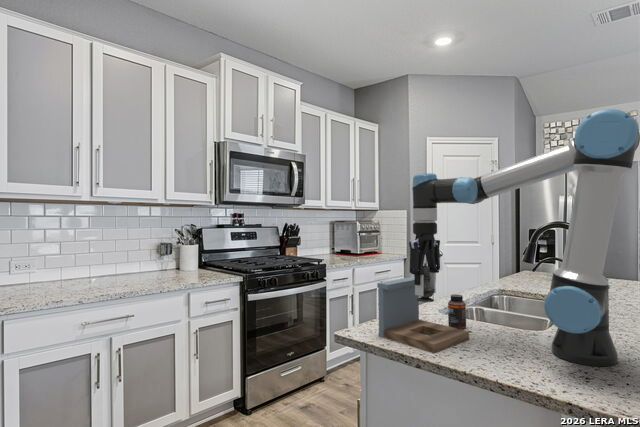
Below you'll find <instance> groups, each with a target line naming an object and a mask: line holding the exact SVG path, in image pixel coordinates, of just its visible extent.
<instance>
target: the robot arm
mask: <svg viewBox="0 0 640 427" xmlns="http://www.w3.org/2000/svg"><path fill="white" fill-rule="evenodd" d="M639 145H640V129H639V124H638V122H637V121H636V119H635V118H634V117H633V115H631V114H629V113H627V112H625V111H623V110H621V109H615V108H605V109H604V108H603V109H600V110H597V111H594V112H592V113H590V114H589V115H587V116H585V117H584V118H583V119H582V120H581V121H580V122H579V123H578V126H577V127H576V130H575V133H574V138H571V140H570V141H569V143H568V144H566V145H563V146H559V147H557V148H554V149H552V150H548V151H545V152H542V153H541V154H538V155H536V156H532V157H530V158H527V159H523V160H521V161H518V162H516V163H513V164H511V165H508V166H505V167H502V168H499V169H497V170H494V171H491V172H489V173H486V174H484V175H483V174H482V175H480V176H478V177H475V178H473V177H463V176H461V177H453V178H452V177H451V178H438V175H437V174H436V173H431V172H428V173H416V174H415V175H413V178H412V187H411V188H412V221H413V223H412V233H413V234H414V235H415V239H414V240H413V241H409V242H408V245H409V273H410V274H411V275H414V276H413V277H414V281H415V282H414V284H415V295H419V297H420V296H424V281H423V275H421V274H422V269H423V266H424V264H425V263H424V262H425V259H426V265H427V266H428V267H429V268H430V277H431V278H430V285H431V287H432V288H433V289H435V291H434V293H433V294H436V286H437V285H436V283H437V282H436V281H437V278H436V277H437V273H439V272H440V270H441V259H440V258H441V256H440V244H441V241H440V239H436V238H435V235H437V234H438V224H437V222H436V221H438V204H469V205H475V204H479V203H482V202H483V201H485V200H487V199H490V198H492V197H496V196H499V195H502V194H505V193H508V192H512V191H515V190H517V189H521V188H523V187H526V186H530V185H533V184H536V183H540V182H543V181H545V180H549V179H553V178H555V177H559V176H561V175H564V174H567V173H571V172H574V171H576V172H577V173H578V175H577V182H576V186H575V192H574V197H573V201H572V202H573V203H572V206H571V207H572V208H571V212H570V213H571V214H570V219H569V224H568V229H567V235H566V241H565V245H564V251H563V252H564V253H563V258H562V262H561V266H560V267H559V268H557V269H554V271H553V273H552V276H551V277H552V278H551V284H550V288H549V292H548V293H547V294H546V297H545V299H544V305H543V308H544V312H545V315H546V317H547V319H548V320H549V321H550V322H551V323H552V324H553V326H555V327H556V332H555V335H554V336H553V340H552V343H551V352H552V354H553V355H555V357H558V358H560V359H562V360H564V361H567V362H571V363H575V364H580V365H586V366H594V367H610V366H614V365H617V364H618V360H619V359H618V358H619V357H618V356H619V355H618V352H617V349H616V346H615V343H614V341H613V337H612V336H611V334H610V303H609V301H610V300H609V298H610V297H609V294H610V293H609V291H610V290H609V289H610V287H611V286H610V285H609V284H610V283H609V279H608V278H607V276H605V275H604V274H603V273H604V268H605V263H606V258H607V254H608V249H609V248H608V247H609V244H610V238H611V232H612V228H613V222H614V217H615V213H616V212H615V211H616V208H617V202H618V197H619V192H620V186H621V181H622V179H623V178H622V177H624V176H625V175H626V174H628V173H629V172H631V171H632V167H633V163H634V158H635V153H636V151H637V149H638V148H639ZM425 257H426V258H425Z"/></svg>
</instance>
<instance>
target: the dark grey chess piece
mask: <svg viewBox="0 0 640 427" xmlns="http://www.w3.org/2000/svg"><path fill="white" fill-rule="evenodd" d="M421 275H423V281H424V296H419V298H418V299H417V301H419V302H421V303H431V302H432V303H433V302H434V301H435V299H433V298H432V296H434V294H435V293H434V291H435V289H433V288H432V287H431V285H430V278H431V277H430V268H429V267H428V265H427V262H425V263H423V269H422V274H421Z"/></svg>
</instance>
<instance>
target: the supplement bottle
mask: <svg viewBox="0 0 640 427" xmlns="http://www.w3.org/2000/svg"><path fill="white" fill-rule="evenodd" d="M466 306H467V304H466V302H465V301H464V298H463V294H459V293H458V294H457V293H455V294H450V300H449V301H448V302H447V317H448V320H447V322H448V327H453V328H457V329H461V330H464V329H466V328H467V307H466Z"/></svg>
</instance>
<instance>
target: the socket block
mask: <svg viewBox="0 0 640 427" xmlns="http://www.w3.org/2000/svg"><path fill="white" fill-rule="evenodd" d="M383 339H387V340H391V341H394V342H397V343H400V344H404V345H407V346H411V347H413V348H415V349H420V350H423V351H425V352H426V351H427V352H429V353H432V354H436V353H438V352H441V351H443V350H446V349H449V348H451V347H454V346H456V345H458V344H459V345H460V344H461V343H463V342H467V341H468V340H470V331H468V330H464V329H457V328H453V327H449V325H443V324H439V323H435V322H432V321H427V320H423V319H419V320H416V321H412V322H409V323H405V324H402V325H399V326H395V327H392V328H388V329H385V330H384V338H383Z"/></svg>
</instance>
